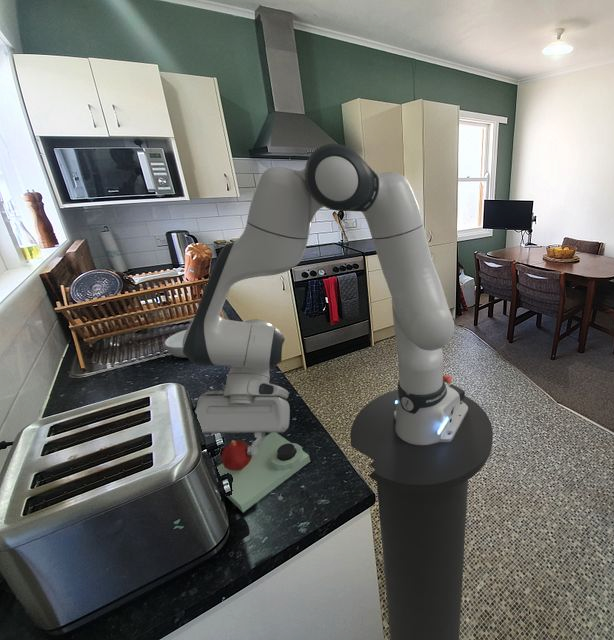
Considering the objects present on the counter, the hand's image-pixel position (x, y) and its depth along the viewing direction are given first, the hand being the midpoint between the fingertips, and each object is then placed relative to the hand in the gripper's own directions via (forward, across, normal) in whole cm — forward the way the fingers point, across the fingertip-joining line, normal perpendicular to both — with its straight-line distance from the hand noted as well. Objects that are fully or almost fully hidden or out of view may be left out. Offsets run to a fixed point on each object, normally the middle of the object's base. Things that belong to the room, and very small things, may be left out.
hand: (234, 455), depth 73 cm
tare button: (0, +9, +5) cm, 10 cm away
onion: (+3, 0, +4) cm, 5 cm away
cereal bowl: (-36, -44, +45) cm, 73 cm away
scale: (+3, +4, +6) cm, 7 cm away
